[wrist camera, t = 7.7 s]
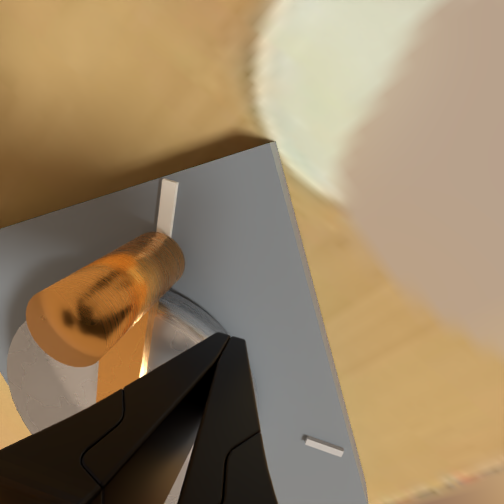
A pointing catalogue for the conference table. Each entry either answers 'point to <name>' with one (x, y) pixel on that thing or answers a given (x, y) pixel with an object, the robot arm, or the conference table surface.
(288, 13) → the conference table surface
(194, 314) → the dial
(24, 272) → the dial plate
